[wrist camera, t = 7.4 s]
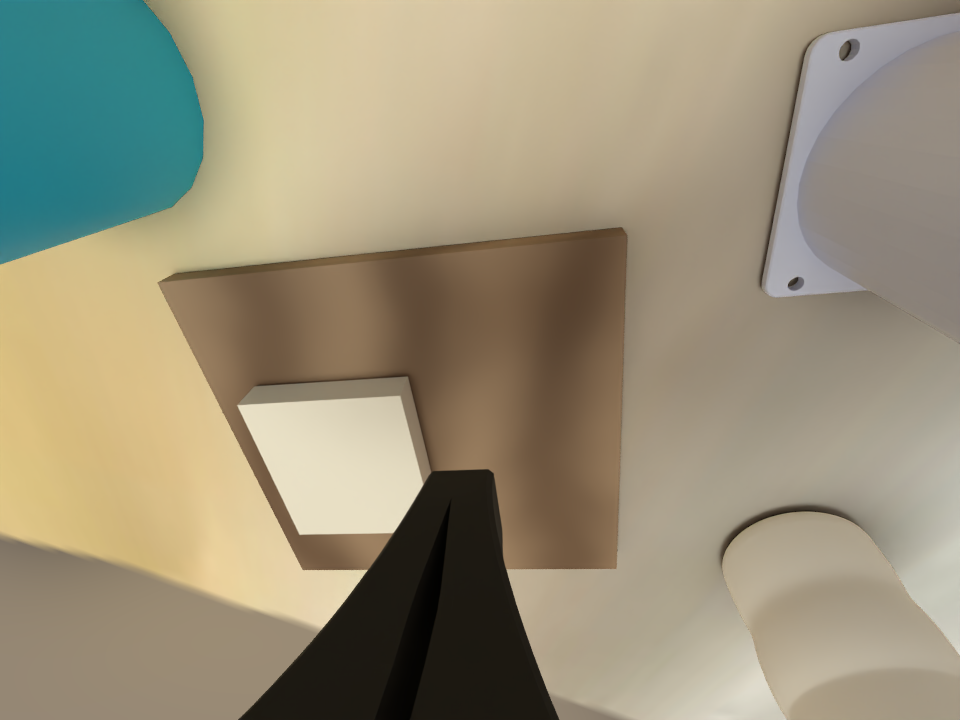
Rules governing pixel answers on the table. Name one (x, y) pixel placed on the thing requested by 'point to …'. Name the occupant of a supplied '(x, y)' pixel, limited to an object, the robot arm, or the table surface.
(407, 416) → the tile
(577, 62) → the table surface
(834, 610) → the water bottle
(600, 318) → the board
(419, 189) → the table surface
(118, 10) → the mug
